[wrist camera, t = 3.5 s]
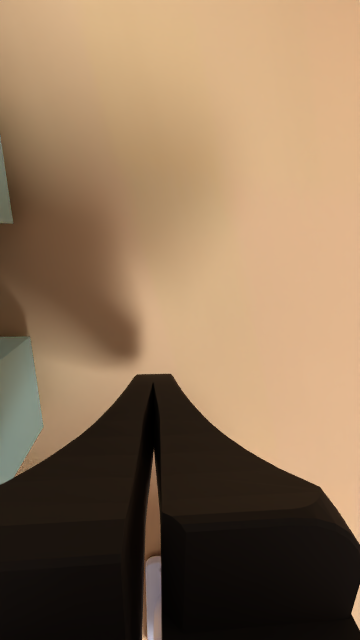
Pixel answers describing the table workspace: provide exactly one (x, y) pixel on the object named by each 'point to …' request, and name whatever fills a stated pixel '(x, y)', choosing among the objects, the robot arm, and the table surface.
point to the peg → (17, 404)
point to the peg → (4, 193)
